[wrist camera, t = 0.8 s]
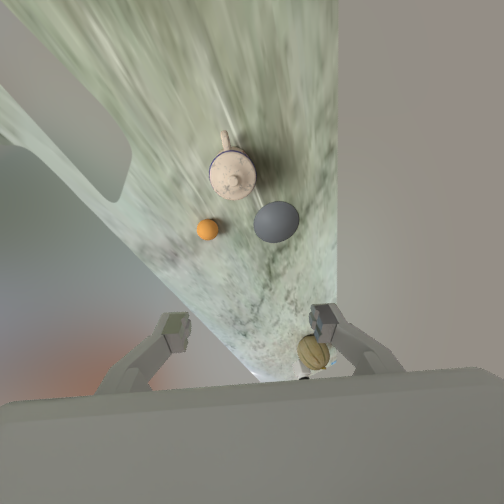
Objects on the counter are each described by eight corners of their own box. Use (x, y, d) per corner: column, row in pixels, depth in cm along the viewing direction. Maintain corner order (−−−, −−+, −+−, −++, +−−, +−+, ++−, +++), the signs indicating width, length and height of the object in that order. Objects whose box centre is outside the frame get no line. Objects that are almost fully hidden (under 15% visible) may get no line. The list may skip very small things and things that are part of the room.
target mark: (254, 201, 46) (254, 201, 46) (302, 201, 47) (302, 201, 47) (253, 243, 54) (253, 243, 54) (294, 241, 55) (294, 242, 55)
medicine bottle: (291, 364, 111) (297, 387, 101) (298, 359, 107) (304, 382, 98) (300, 365, 113) (306, 387, 104) (307, 360, 110) (314, 383, 100)
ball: (197, 215, 47) (193, 225, 43) (217, 215, 48) (216, 225, 43) (200, 233, 50) (197, 244, 46) (219, 233, 51) (218, 243, 46)
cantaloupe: (292, 334, 89) (301, 367, 77) (321, 327, 87) (335, 360, 75) (296, 347, 98) (305, 378, 86) (322, 340, 96) (335, 372, 84)
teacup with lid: (255, 183, 44) (261, 201, 34) (219, 191, 44) (215, 210, 35) (246, 124, 36) (250, 126, 27) (203, 134, 37) (193, 138, 27)
